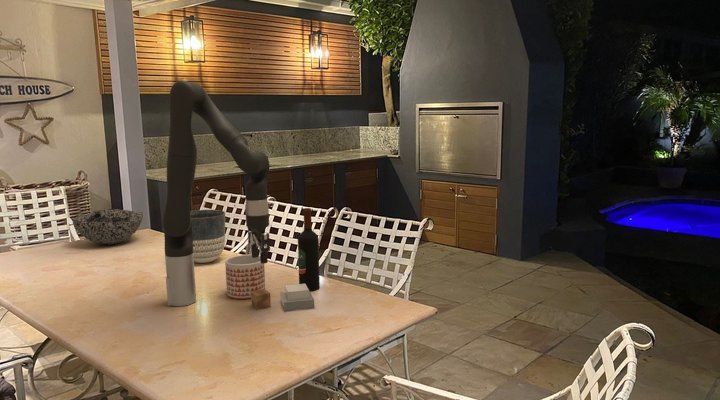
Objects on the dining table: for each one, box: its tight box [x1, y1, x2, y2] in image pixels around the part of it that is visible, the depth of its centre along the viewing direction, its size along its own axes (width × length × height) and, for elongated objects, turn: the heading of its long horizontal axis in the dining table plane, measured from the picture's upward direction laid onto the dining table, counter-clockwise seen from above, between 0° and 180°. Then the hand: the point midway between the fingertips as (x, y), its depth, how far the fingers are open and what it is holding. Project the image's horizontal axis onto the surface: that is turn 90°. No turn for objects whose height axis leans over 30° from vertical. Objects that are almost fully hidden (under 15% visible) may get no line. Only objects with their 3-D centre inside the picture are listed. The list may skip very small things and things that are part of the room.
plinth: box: [280, 283, 315, 312], centre depth 185 cm, size 10×10×6 cm
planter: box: [190, 209, 226, 264], centre depth 238 cm, size 20×20×21 cm
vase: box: [224, 254, 266, 300], centre depth 197 cm, size 14×14×13 cm
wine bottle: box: [297, 207, 320, 292], centre depth 200 cm, size 8×8×30 cm
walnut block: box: [251, 288, 272, 311], centre depth 184 cm, size 5×5×5 cm
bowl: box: [72, 208, 144, 246], centre depth 273 cm, size 31×31×15 cm
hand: (259, 260), depth 182 cm, fingers open, 8 cm apart
